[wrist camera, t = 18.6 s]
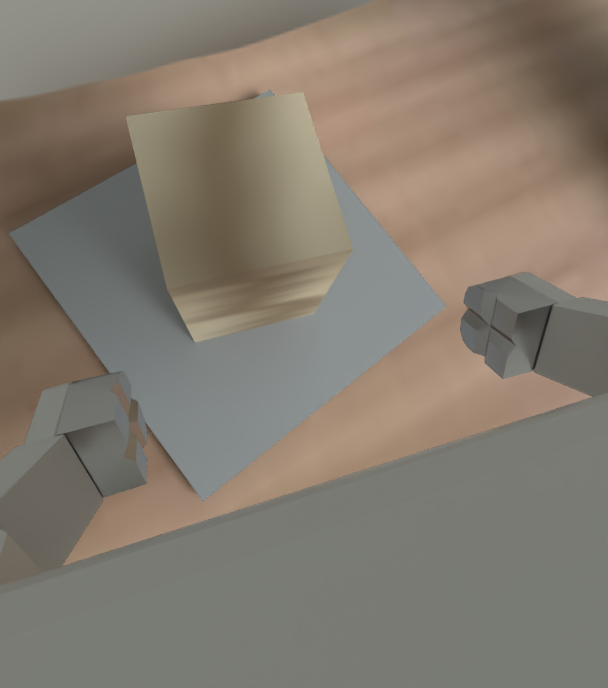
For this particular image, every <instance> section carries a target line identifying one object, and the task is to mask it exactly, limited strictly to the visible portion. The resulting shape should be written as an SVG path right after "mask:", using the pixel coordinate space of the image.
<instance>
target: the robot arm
mask: <svg viewBox="0 0 608 688" xmlns="http://www.w3.org/2000/svg"><path fill="white" fill-rule="evenodd" d="M464 304H465V305H466V307H467V308H468V309H467V311H466V312H465V314H464V315H463V317H462V318H461V326H460V331H461V335H462V339H463V341H464V343H465V344H466V346H467V347H468V348H469V349H470V350H471V351H472V352H473V353H476V354H479V355H482V356H485V364H487V365H488V366H489V367H490V368H491V369H492V370H493V371H494V372H496V373H497V374H498V375H499V376H500V377H501V378H502V379H504V378H508V377H512V376H515V375H519V374H523V373H527V372H530V371H534V372H535V373H537V374H539V375H542V376H544V377H547V378H549V379H551V380H554V381H556V382H558V383H561V384H563V385H566V386H568V387H570V388H573V389H575V390H578V391H580V392H582V393H585V394H587V395H589V396H592V397H591V398H588V399H585V400H582V401H579V402H576V403H573V404H569V405H566V406H563V407H560V408H557V409H554V410H550V411H547V412H544V413H541V414H538V415H535V416H532V417H528V418H525V419H522V420H519V421H516V422H513V423H509V424H506V425H503V426H500V427H497V428H494V429H490V430H487V431H484V432H481V433H478V434H475V435H471V436H468V437H465V438H462V439H459V440H456V441H453V442H450V443H446V444H443V445H440V446H437V447H434V448H431V449H428V450H424V451H421V452H418V453H415V454H412V455H409V456H406V457H403V458H399V459H396V460H393V461H390V462H387V463H384V464H381V465H378V466H374V467H371V468H368V469H365V470H362V471H359V472H356V473H353V474H349V475H346V476H343V477H340V478H337V479H334V480H331V481H328V482H324V483H321V484H318V485H315V486H312V487H309V488H306V489H302V490H299V491H296V492H293V493H290V494H287V495H284V496H281V497H277V498H274V499H271V500H268V501H265V502H262V503H259V504H255V505H252V506H249V507H246V508H243V509H240V510H237V511H234V512H230V513H227V514H224V515H221V516H218V517H215V518H212V519H208V520H205V521H202V522H199V523H196V524H193V525H190V526H186V527H183V528H180V529H177V530H174V531H171V532H168V533H165V534H161V535H158V536H155V537H152V538H149V539H146V540H143V541H139V542H136V543H133V544H130V545H127V546H124V547H121V548H118V549H114V550H111V551H108V552H105V553H102V554H99V555H96V556H92V557H89V558H86V559H83V560H80V561H77V562H74V563H70V564H67V565H64V566H62V565H63V564H64V562H65V561H66V559H67V557H68V556H69V554H70V553H71V551H72V550H73V548H74V546H75V545H76V543H77V542H78V540H79V538H80V537H81V535H82V534H83V532H84V530H85V529H86V527H87V526H88V524H89V523H90V521H91V519H92V518H93V516H94V515H95V513H96V511H97V510H98V508H99V507H100V505H101V503H102V502H103V498H104V497H107V496H110V495H114V494H117V493H120V492H123V491H126V490H129V489H132V488H135V487H138V486H141V485H145V484H146V479H147V458H146V456H145V454H144V452H143V448H144V446H145V445H146V444H147V430H146V424H145V419H144V416H143V413H142V410H141V407H140V405H139V403H138V401H136V400H134V399H132V398H131V384H130V382H129V380H128V378H127V376H126V374H125V373H124V372H123V371H119V372H115V373H110V374H106V375H101V376H97V377H92V378H88V379H83V380H79V381H74V382H72V383H70V382H69V383H65V384H61V385H57V386H53V387H49V388H46V389H45V390H43V391H42V393H41V395H40V398H39V401H38V404H37V407H36V410H35V413H34V416H33V419H32V422H31V425H30V428H29V431H28V434H27V437H26V440H25V442H24V445H21V446H17V447H15V448H14V449H13V450H11V451H10V452H9V453H8V454H7V455H6V456H5V457H4V458H3V459H1V460H0V688H608V302H607V301H601V300H596V299H591V298H585V297H581V298H576V297H574V296H572V295H570V294H568V293H566V292H565V291H563V290H561V289H559V288H557V287H555V286H554V285H552V284H550V283H548V282H546V281H544V280H543V279H541V278H539V277H537V276H535V275H533V274H532V273H529V272H521V273H517V274H514V275H510V276H507V277H504V278H500V279H497V280H493V281H489V282H485V283H482V284H478V285H474V286H470V287H468V289H467V291H466V293H465V297H464Z"/></svg>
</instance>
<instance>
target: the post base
mask: <svg viewBox="0 0 608 688" xmlns="http://www.w3.org/2000/svg"><path fill="white" fill-rule="evenodd" d="M269 96H275V95H274V94H273V93H272V91H271V90H268V91H267V92H265V93H263V94H261V95H259V96H257V97H256V98H262V97H269ZM254 99H255V98H254ZM323 156H324V155H323ZM324 159H325V162H326V165H327V169H328V172H329V175H330V178H331V181H332V184H333V187H334V190H335V194H336V197H337V200H338V203H339V206H340V209H341V212H342V215H343V218H344V222H345V225H346V228H347V231H348V234H349V237H350V240H351V243H352V246H353V250H352V252H351V254H350V255H349V257H348V259H347V260H346V262H345V263H344V265H343V267H342V268H341V270H340V272H339V273H338V275H337V277H336V278H335V280H334V282H333V283H332V285H331V286H330V288H329V290H328V291H327V293H326V295H325V296H324V298H323V300H322V301H321V303H320V304H319V306H318V308H317V309H316V311H315V313H314V314H310V315H306V316H302V317H298V318H294V319H290V320H285V321H281V322H277V323H273V324H269V325H265V326H261V327H257V328H252V329H248V330H244V331H240V332H236V333H232V334H228V335H224V336H220V337H215V338H211V339H207V340H203V341H199V342H194V340H193V338H192V336H191V334H190V332H189V330H188V328H187V326H186V324H185V322H184V321H183V319H182V317H181V315H180V313H179V311H178V309H177V307H176V305H175V303H174V301H173V299H172V298H171V296H170V294H169V292H168V290H167V287H166V282H165V278H164V274H163V270H162V266H161V262H160V257H159V253H158V249H157V245H156V241H155V237H154V233H153V228H152V224H151V220H150V216H149V212H148V208H147V204H146V199H145V195H144V191H143V187H142V183H141V179H140V174H139V170H138V166H137V163H136V164H134V165H132V166H130V167H128V168H127V169H125V170H123V171H121V172H119V173H117V174H116V175H114V176H112V177H110V178H108V179H107V180H105V181H103V182H101V183H99V184H97V185H96V186H94V187H92V188H90V189H88V190H87V191H85V192H83V193H81V194H79V195H77V196H76V197H74V198H72V199H70V200H68V201H67V202H65V203H63V204H61V205H59V206H57V207H56V208H54V209H52V210H50V211H48V212H47V213H45V214H43V215H41V216H39V217H37V218H36V219H34V220H32V221H30V222H28V223H27V224H25V225H23V226H21V227H19V228H17V229H16V230H14V231H12V232H10V233H8V234H9V235H10V237H11V238H12V239H13V241H14V242H15V243H16V245H17V246H18V248H19V249H20V250H21V252H22V253H23V254H24V256H25V257H26V259H27V260H28V261H29V263H30V264H31V265H32V267H33V268H34V270H35V271H36V272H37V274H38V275H39V276H40V278H41V279H42V281H43V282H44V283H45V285H46V286H47V287H48V289H49V290H50V292H51V293H52V294H53V296H54V297H55V298H56V300H57V301H58V303H59V304H60V305H61V307H62V308H63V309H64V311H65V312H66V314H67V315H68V316H69V318H70V319H71V320H72V322H73V323H74V325H75V326H76V327H77V329H78V330H79V331H80V333H81V334H82V336H83V337H84V338H85V340H86V341H87V342H88V344H89V345H90V347H91V348H92V349H93V351H94V352H95V353H96V355H97V356H98V358H99V359H100V360H101V362H102V363H103V364H104V366H105V367H106V369H107V370H108V371H109V373H115V372H119V371H123V372H124V373H125V374H126V376H127V378H128V380H129V382H130V384H131V398H132V399H134V400H136V401H138V403H139V405H140V407H141V410H142V413H143V416H144V419H145V422H146V424H147V425H148V426H149V428H150V429H151V430H152V432H153V433H154V435H155V436H156V437H157V439H158V440H159V442H160V443H161V444H162V446H163V447H164V448H165V450H166V451H167V453H168V454H169V455H170V457H171V458H172V459H173V461H174V462H175V464H176V465H177V466H178V468H179V469H180V470H181V472H182V473H183V475H184V476H185V477H186V479H187V480H188V481H189V483H190V484H191V486H192V487H193V488H194V490H195V491H196V492H197V494H198V495H199V497H200V498H201V499H202V501H204V500H205V499H206V498H208V497H209V496H210V495H211V494H213V493H214V492H215V491H216V490H218V489H219V488H220V487H221V486H223V485H224V484H225V483H226V482H228V481H229V480H230V479H231V478H233V477H234V476H235V475H236V474H238V473H239V472H240V471H241V470H243V469H244V468H245V467H246V466H248V465H249V464H250V463H251V462H253V461H254V460H255V459H256V458H258V457H259V456H260V455H261V454H263V453H264V452H265V451H266V450H268V449H269V448H270V447H271V446H273V445H274V444H275V443H276V442H278V441H279V440H280V439H281V438H283V437H284V436H285V435H286V434H288V433H289V432H290V431H291V430H293V429H294V428H295V427H296V426H298V425H299V424H300V423H301V422H303V421H304V420H305V419H306V418H308V417H309V416H310V415H311V414H313V413H314V412H315V411H316V410H318V409H319V408H320V407H321V406H323V405H324V404H325V403H326V402H327V401H329V400H330V399H331V398H332V397H334V396H335V395H336V394H337V393H339V392H340V391H341V390H342V389H344V388H345V387H346V386H347V385H349V384H350V383H351V382H352V381H354V380H355V379H356V378H357V377H359V376H360V375H361V374H362V373H364V372H365V371H366V370H367V369H369V368H370V367H371V366H372V365H374V364H375V363H376V362H377V361H379V360H380V359H381V358H382V357H384V356H385V355H386V354H387V353H389V352H390V351H391V350H392V349H394V348H395V347H396V346H397V345H399V344H400V343H401V342H402V341H404V340H405V339H406V338H407V337H409V336H410V335H411V334H412V333H414V332H415V331H416V330H417V329H419V328H420V327H421V326H422V325H424V324H425V323H426V322H427V321H429V320H430V319H431V318H432V317H434V316H435V315H436V314H437V313H439V312H440V311H441V310H442V309H444V308H445V307H446V305H445V304H444V303H443V301H442V300H441V299H440V298H439V296H438V295H437V294H436V293H435V292H434V290H433V289H432V288H431V287H430V285H429V284H428V283H427V282H426V280H425V279H424V278H423V277H422V276H421V274H420V273H419V272H418V271H417V269H416V268H415V267H414V266H413V265H412V263H411V262H410V261H409V260H408V258H407V257H406V256H405V255H404V253H403V252H402V251H401V250H400V249H399V247H398V246H397V245H396V244H395V242H394V241H393V240H392V239H391V237H390V236H389V235H388V234H387V233H386V231H385V230H384V229H383V228H382V226H381V225H380V224H379V223H378V222H377V220H376V219H375V218H374V217H373V215H372V214H371V213H370V212H369V210H368V209H367V208H366V207H365V206H364V204H363V203H362V202H361V201H360V199H359V198H358V197H357V196H356V195H355V193H354V192H353V191H352V190H351V188H350V187H349V186H348V185H347V183H346V182H345V181H344V180H343V179H342V177H341V176H340V175H339V174H338V172H337V171H336V170H335V169H334V167H333V166H332V165H331V164H330V163H329V161H328V160H327V159H326V158H325V156H324Z"/></svg>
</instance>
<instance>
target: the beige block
mask: <svg viewBox="0 0 608 688" xmlns="http://www.w3.org/2000/svg"><path fill="white" fill-rule="evenodd" d="M126 121H127V125H128V129H129V133H130V137H131V141H132V145H133V150H134V154H135V158H136V162H137V166H138V170H139V174H140V179H141V183H142V187H143V191H144V195H145V199H146V204H147V208H148V212H149V216H150V220H151V224H152V228H153V233H154V237H155V241H156V245H157V249H158V253H159V257H160V262H161V266H162V270H163V274H164V278H165V282H166V287H167V290H168V292H169V294H170V296H171V298H172V299H173V301H174V303H175V305H176V307H177V309H178V311H179V313H180V315H181V317H182V319H183V321H184V322H185V324H186V326H187V328H188V330H189V332H190V334H191V336H192V338H193V340H194V342H199V341H203V340H207V339H211V338H215V337H220V336H224V335H228V334H232V333H236V332H240V331H244V330H248V329H252V328H257V327H261V326H265V325H269V324H273V323H277V322H281V321H285V320H290V319H294V318H298V317H302V316H306V315H310V314H314V313H315V311H316V309H317V308H318V306H319V304H320V303H321V301H322V300H323V298H324V296H325V295H326V293H327V291H328V290H329V288H330V286H331V285H332V283H333V282H334V280H335V278H336V277H337V275H338V273H339V272H340V270H341V268H342V267H343V265H344V263H345V262H346V260H347V259H348V257H349V255H350V254H351V252H352V250H353V246H352V243H351V240H350V237H349V234H348V231H347V228H346V225H345V222H344V218H343V215H342V212H341V209H340V206H339V203H338V200H337V197H336V194H335V190H334V187H333V184H332V181H331V178H330V175H329V172H328V169H327V165H326V162H325V159H324V156H323V153H322V150H321V147H320V144H319V141H318V137H317V134H316V131H315V128H314V125H313V122H312V119H311V116H310V113H309V109H308V106H307V103H306V100H305V97H304V94H303V92H299V93H291V94H284V95H277V96H269V97H262V98H255V99H247V100H240V101H233V102H225V103H218V104H211V105H203V106H196V107H189V108H181V109H174V110H166V111H159V112H152V113H144V114H137V115H130V116H126Z"/></svg>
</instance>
